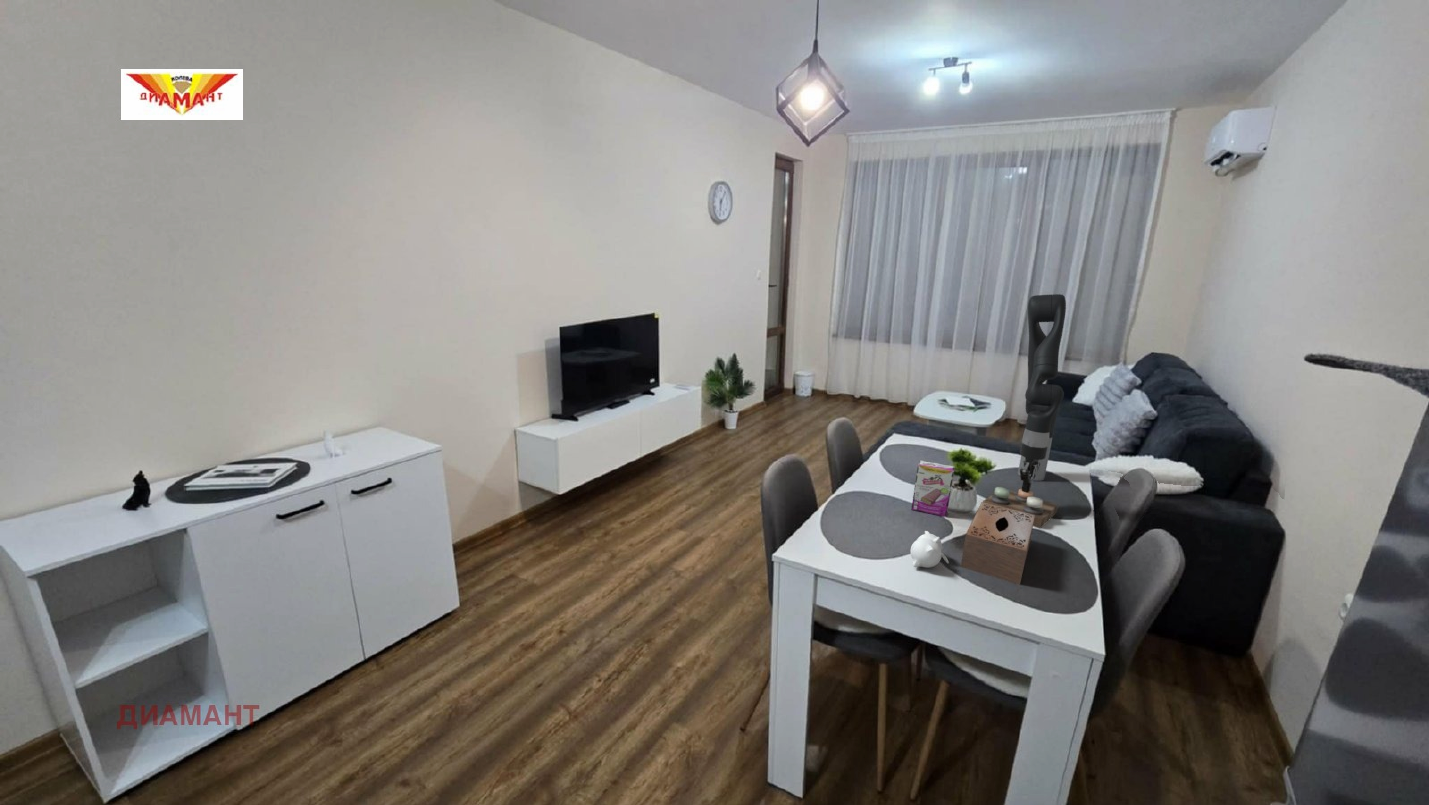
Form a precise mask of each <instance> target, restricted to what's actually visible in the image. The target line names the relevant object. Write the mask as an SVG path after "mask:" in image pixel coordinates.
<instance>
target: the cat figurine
mask: <svg viewBox="0 0 1429 805" xmlns="http://www.w3.org/2000/svg"><path fill="white" fill-rule="evenodd" d="M942 549H943V544H942V541H941V538H940V536H937V535H935V534H932V533H930V532H929V531H928V530H924V533H923V534H922V535H920V536H918V538H917V539H916V540H914V542H912V545H911V547H910V556H911V559H912V566H913V568H919V567H921V568H927V569H929V568H933V567H936V566H937V565H938V564H939V563H940V561H941V560H942V558H943V560H944V562H945V563H947V564H949V563H950V562H949V560H948V558H947V556H946V555H945V554H944V553H943V552H942Z"/></svg>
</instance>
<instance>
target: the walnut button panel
mask: <svg viewBox="0 0 1429 805" xmlns="http://www.w3.org/2000/svg"><path fill="white" fill-rule="evenodd" d="M1042 500H1043V503H1042V507H1041V508H1034V507H1030V506H1028V505H1027V504H1026V502H1027V499H1022V498H1020V497H1018V492H1016V491H1013V490H1010V493H1009V497H1008V498H1001V497H998V496H996V495H995V494H994V493H992V494H991V495H990V496H988V497H987V498H985V499H984V500H983V501H982V502H984V503H988V504H992V505H996V506H1000V507H1004V508H1009V509H1013V510H1017V511H1021V512H1025V513H1029V514H1033V515H1035V518H1034V524H1033V527H1035V528H1038V529H1041V528H1042V527H1044V525H1046V524H1047V522H1049V521H1050V520H1051V519H1052V518H1053V517H1054V516H1055V515H1056V514H1057V512H1058V506H1059V504H1057V503H1054V502H1049V501H1048V500H1047V501H1046V500H1044V499H1042ZM1049 519H1050V520H1049Z"/></svg>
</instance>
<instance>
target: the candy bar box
mask: <svg viewBox="0 0 1429 805" xmlns="http://www.w3.org/2000/svg"><path fill="white" fill-rule="evenodd" d="M916 468H917V469H916V476H915V482H914V490H913V496H912V502H911V510H912V511H916V512H921V513H926V514H929V513H930V515H934V514H935V516H939V517H944V518H946V517H947V515H948V510H949V505H950V498H951V493H952V487H953V480H954V473H955V468H956V467H955V465H948V464H941V463H937V462H932V461H925V460H919V462H918V464H917V467H916Z"/></svg>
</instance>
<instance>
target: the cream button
mask: <svg viewBox="0 0 1429 805" xmlns="http://www.w3.org/2000/svg"><path fill="white" fill-rule="evenodd" d="M1043 500H1044V499H1042V498H1040V497H1037V496H1033V497H1027V502H1026V504H1027V505H1028V506H1030V507H1034V508H1041V507H1042V503H1043Z"/></svg>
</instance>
